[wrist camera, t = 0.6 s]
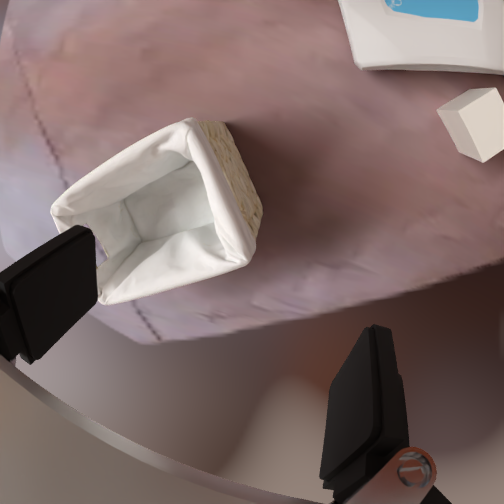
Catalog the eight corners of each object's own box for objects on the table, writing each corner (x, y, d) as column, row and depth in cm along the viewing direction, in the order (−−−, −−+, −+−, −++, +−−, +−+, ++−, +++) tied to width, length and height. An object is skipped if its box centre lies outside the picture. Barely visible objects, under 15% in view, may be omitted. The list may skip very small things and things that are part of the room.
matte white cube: (435, 109, 31) (457, 111, 25) (469, 89, 28) (495, 87, 22) (458, 152, 33) (483, 162, 26) (491, 131, 30) (519, 138, 23)
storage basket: (232, 109, 38) (184, 112, 25) (279, 218, 43) (255, 270, 30) (107, 177, 47) (43, 206, 34) (149, 261, 52) (100, 310, 39)
